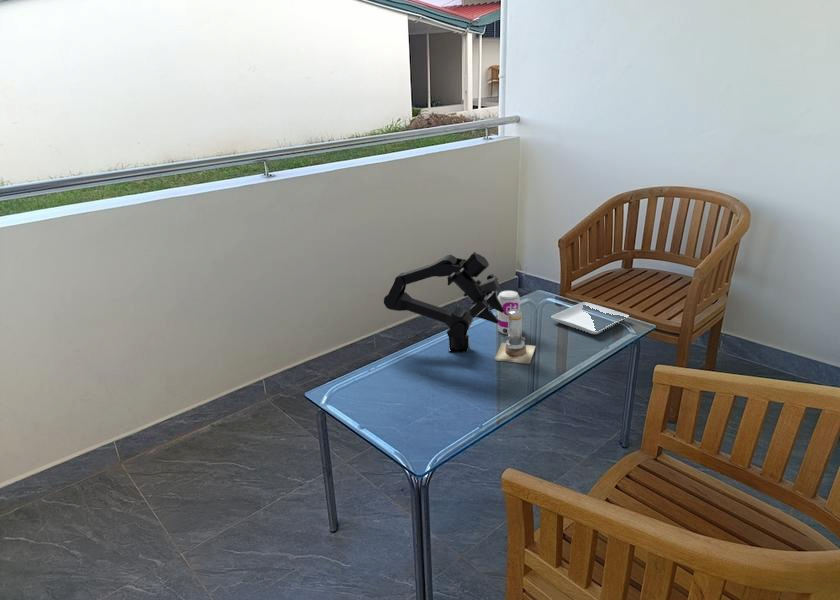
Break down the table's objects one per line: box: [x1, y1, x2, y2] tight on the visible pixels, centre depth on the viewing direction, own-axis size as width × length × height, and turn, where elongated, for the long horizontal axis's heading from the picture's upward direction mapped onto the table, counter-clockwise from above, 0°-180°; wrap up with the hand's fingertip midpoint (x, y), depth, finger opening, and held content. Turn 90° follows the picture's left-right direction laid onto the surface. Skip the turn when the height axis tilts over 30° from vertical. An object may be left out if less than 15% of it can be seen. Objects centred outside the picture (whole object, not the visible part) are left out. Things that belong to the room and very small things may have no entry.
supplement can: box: [497, 289, 521, 336], centre depth 223 cm, size 8×8×15 cm
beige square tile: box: [494, 342, 537, 364], centre depth 208 cm, size 12×12×3 cm
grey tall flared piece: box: [505, 309, 526, 350], centre depth 205 cm, size 7×6×13 cm
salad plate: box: [551, 301, 630, 335], centre depth 228 cm, size 21×21×3 cm
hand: (500, 317), depth 205 cm, fingers open, 9 cm apart
